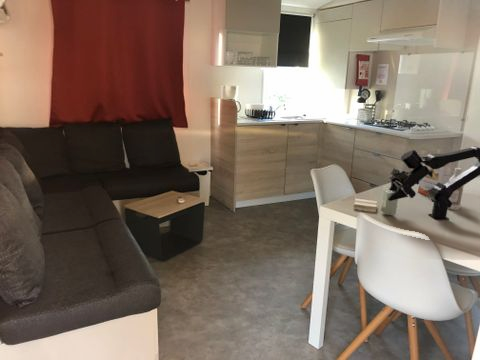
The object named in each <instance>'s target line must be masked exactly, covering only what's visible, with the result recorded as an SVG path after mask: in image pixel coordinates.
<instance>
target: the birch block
mask: <svg viewBox="0 0 480 360" xmlns="http://www.w3.org/2000/svg"><path fill="white" fill-rule="evenodd" d="M377 203H378V201H377V200H368V199H361V198H355V200H354V204H353V210H355V209H360V210H359V211H362V210H364V212H370V213H371V212H372V213H376V212H377V206H378V205H377Z"/></svg>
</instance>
